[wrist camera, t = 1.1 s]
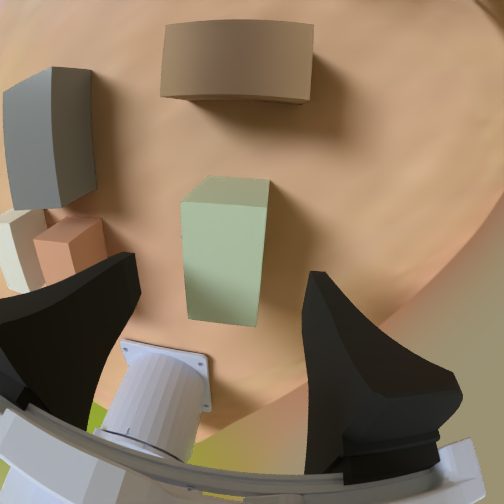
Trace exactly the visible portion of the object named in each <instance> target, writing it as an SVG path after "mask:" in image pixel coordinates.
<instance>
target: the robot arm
mask: <svg viewBox="0 0 504 504" xmlns="http://www.w3.org/2000/svg"><path fill="white" fill-rule="evenodd" d="M140 295H141V288H140V283H139V277H138V271H137V265H136V259H135V253H127V252H121V253H118V254H116V255H113V256H111V257H109V258H107V259H105V260H103V261H101V262H99V263H97V264H95V265H93V266H91V267H89V268H87V269H85V270H83V271H81V272H79V273H76V274H74V275H72V276H70V277H68V278H66V279H64V280H62V281H59V282H57V283H54V284H52V285H49V286H47V287H44V288H41V289H38V290H34V291H31V292H28V293H25V294H21V295H17V296H12V297H7V298H2V299H0V458H1V459H2V460H4V461H5V462H6V463H7V464H8V465H10V466H11V468H10V470H9V472H8V475H7V477H6V479H5V482H4V484H3V487H2V489H1V492H0V504H473V503H475V502H477V501H478V500H480V499H482V498H484V497H485V495H486V492H485V487H484V483H483V478H482V474H481V471H480V466H479V463H478V459H477V456H476V452H475V449H474V445H473V443H472V439H471V438H470V437H468V438H466V439H462V440H460V441H457V442H454V443H450V444H448V445H445V446H443V447H441V448H439V449H437V445H436V442H437V441H438V440H439V439H440V434H439V431H438V429H439V428H440V427H441V426H442V425H443V424H444V423H445V422H446V421H447V420H448V419H449V418H450V417H451V416H452V415H453V414H454V413H455V412H456V410H457V409H458V408H459V406H460V404H461V402H462V399H463V394H462V391H461V389H460V387H459V385H458V382H457V380H456V378H455V376H454V373H453V372H451V371H449V370H446V369H444V368H442V367H440V366H438V365H435V364H433V363H431V362H429V361H427V360H425V359H423V358H421V357H420V356H418V355H416V354H414V353H413V352H411V351H410V350H408V349H406V348H405V347H403V346H402V345H400V344H399V343H397V342H396V341H394V340H393V339H392V338H390V337H389V336H388V335H386V334H385V333H384V332H382V331H381V330H380V329H379V328H378V327H377V326H375V325H374V324H373V323H372V322H371V321H370V320H368V319H367V318H366V317H365V316H364V315H363V314H362V313H361V312H360V311H359V310H358V309H357V308H356V307H355V306H354V305H353V304H352V302H351V301H350V300H349V299H348V298H347V297H346V296H345V295H344V294H343V292H342V291H341V290H340V289H339V288H338V286H337V285H336V284H335V283H334V282H333V280H332V279H331V278H330V277H329V276H328V275H327V273H326V272H319V271H310V273H309V278H308V283H307V289H306V293H305V298H304V303H303V308H302V337H303V345H304V353H305V360H306V368H307V375H308V386H309V407H308V408H309V410H308V436H307V450H306V451H307V452H306V461H305V471H304V475H276V474H257V473H245V472H236V471H227V470H221V469H214V468H208V467H202V466H196V465H191V464H186V463H187V462H188V460H189V459H190V457H191V455H192V451H193V447H194V443H195V438H196V434H197V430H198V425H199V421H200V417H201V413H202V412H207V413H209V412H211V411H212V403H211V393H210V382H209V370H208V358H207V357H206V356H205V355H204V354H199V353H193V352H186V351H180V350H175V349H169V348H164V347H159V346H154V345H149V344H144V343H139V342H135V341H130V340H126V339H122V340H121V342H120V346H121V349H122V352H123V354H124V357H125V360H126V362H127V365H128V370H127V372H126V374H125V376H124V378H123V380H122V382H121V384H120V386H119V388H118V390H117V392H116V395H115V397H114V399H113V401H112V403H111V405H110V408H109V410H108V412H107V414H106V416H105V419H104V421H103V423H102V425H101V428H100V429H98V428H95V430H94V432H93V434H90V433H88V432H86V431H87V425H88V419H89V414H90V409H91V405H92V402H93V398H94V394H95V391H96V388H97V385H98V382H99V379H100V376H101V373H102V370H103V368H104V365H105V363H106V360H107V358H108V356H109V354H110V352H111V350H112V348H113V346H114V344H115V343H116V341H117V339H118V337H119V336H120V334H121V332H122V331H123V329H124V327H125V326H126V324H127V322H128V320H129V319H130V317H131V315H132V314H133V312H134V310H135V307H136V305H137V303H138V300H139V298H140ZM202 491H204V492H211V493H217V494H224V495H232V496H241V497H245V498H244V499H243V502H241V501H235V500H229V499H223V498H218V497H213V496H208V495H204V494H203V493H202Z"/></svg>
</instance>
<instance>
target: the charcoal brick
mask: <svg viewBox="0 0 504 504" xmlns="http://www.w3.org/2000/svg"><path fill="white" fill-rule="evenodd" d="M3 131H4V145H5V156H6V164H7V172H8V179H9V185H10V191H11V196H12V201H13V206H14V211H18V210H34V209H54V208H63V207H65V206H66V205H68V204H70V203H71V202H73V201H75V200H77V199H79V198H80V197H82V196H84V195H86V194H88V193H90V192H91V191H93V190H95V189H97V182H96V174H95V165H94V154H93V142H92V124H91V70H87V69H77V68H65V67H50V68H48V69H46V70H44V71H42V72H39V73H37V74H35V75H33V76H31V77H29V78H28V79H26V80H24V81H22V82H20V83H18V84H16V85H15V86H13V87H11V88H10V89H8V90H6V91H4V92H3Z"/></svg>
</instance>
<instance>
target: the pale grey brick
mask: <svg viewBox="0 0 504 504" xmlns="http://www.w3.org/2000/svg"><path fill="white" fill-rule="evenodd" d="M46 230H47V224H46V219H45V214H44V209H34V210H18V211H14V207H13V208H11V209H9V210H8V211H6V212H4V213H2V214H1V215H0V266H1V269H2V271H3V274H4V277H5V280H6V283H7V285H8V288H9V289H11V290H13V291H16V292H19V293H22V294H25V293H28V292H31V291H34V290H38V289H40V288H41V287H42V286H43V285H44V284H45V283H46V282H45V279H44V276H43V273H42V269H41V266H40V263H39V259H38V256H37V252H36V249H35V245H34V241H33V239H34V238H36V237H37V236H39V235H40V234H41V233H43V232H44V231H46Z"/></svg>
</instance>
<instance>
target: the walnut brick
mask: <svg viewBox="0 0 504 504" xmlns="http://www.w3.org/2000/svg"><path fill="white" fill-rule="evenodd" d="M313 36H314V25H312V24H305V23H296V22H286V21H273V20H210V21H196V22H186V23H178V24H170V25H166V28H165V37H164V47H163V58H162V72H161V90H160V97H167V98H175V99H182V100H245V101H264V102H277V103H288V104H298V105H302V104H303V103H305V102H307V101H309V100H310V88H311V73H312V56H313Z"/></svg>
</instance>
